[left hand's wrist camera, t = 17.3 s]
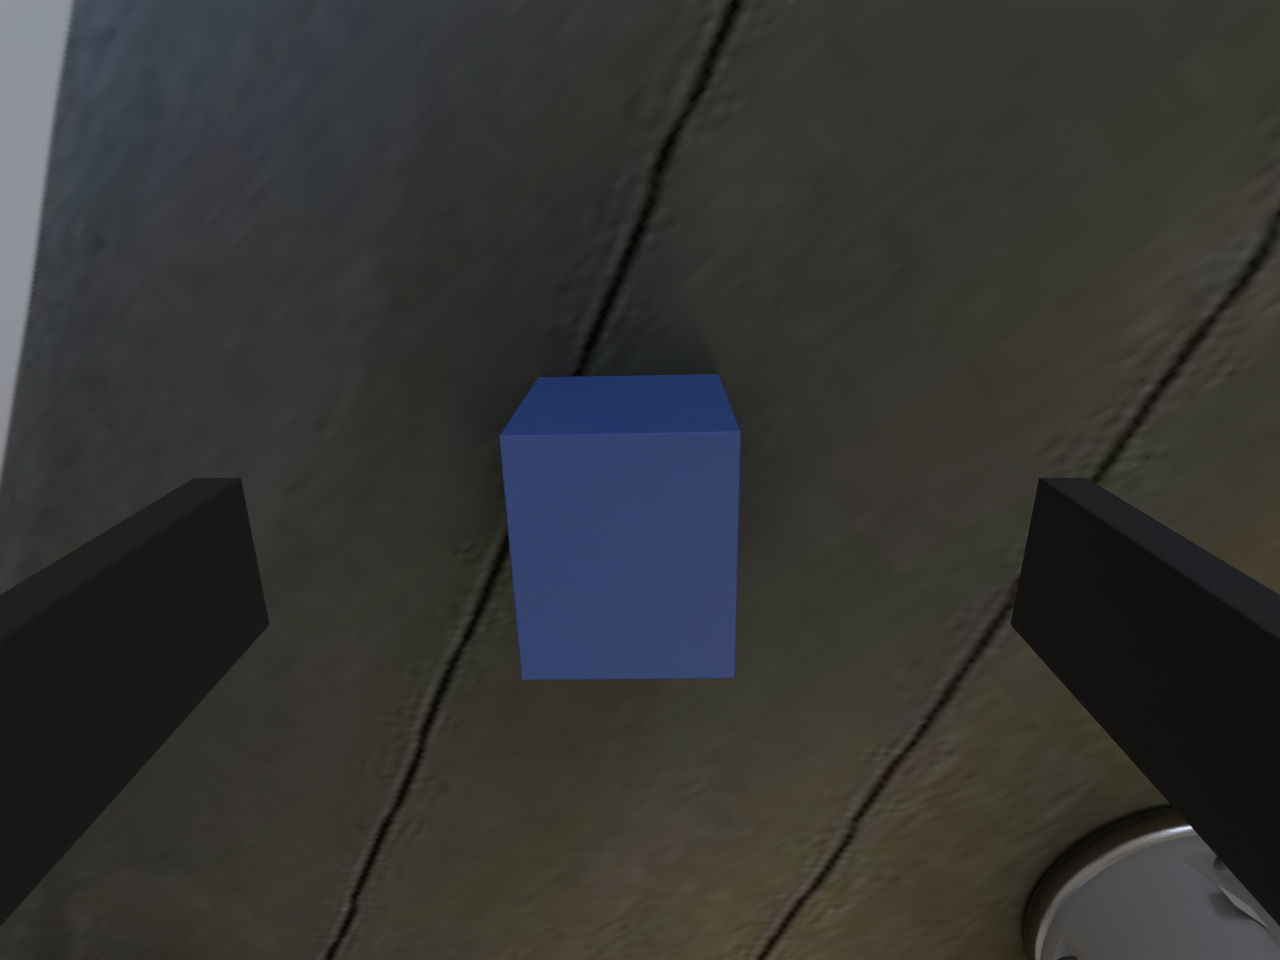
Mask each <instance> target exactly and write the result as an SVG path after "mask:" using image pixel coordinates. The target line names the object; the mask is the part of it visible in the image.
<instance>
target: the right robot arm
mask: <svg viewBox="0 0 1280 960" xmlns="http://www.w3.org/2000/svg"><path fill="white" fill-rule="evenodd" d="M1023 938H1024V945H1025V950H1026V953H1027V956H1028V959H1029V960H1280V926H1279V925H1278V924H1277V923H1276V922H1275V920H1274V919H1273V918H1272V917H1271V916H1270V915H1269V914H1268V913H1267V911H1266V910H1265V909H1264V908H1263V907H1262V906H1261V905H1260V904H1259V902H1258V901H1257V900H1256V899H1255V898H1254V897H1253V896H1252V895H1251V894H1250V892H1249V891H1248V890H1247V889H1246V888H1245V887H1244V886H1243V885H1242V883H1241V882H1240V881H1239V880H1238V879H1237V878H1236V877H1235V876H1234V874H1233V873H1232V872H1231V871H1230V870H1229V869H1228V868H1227V867H1226V865H1225V864H1224V863H1223V862H1222V861H1221V860H1220V859H1219V858H1218V856H1217V855H1216V854H1215V853H1214V852H1213V851H1212V850H1211V849H1210V848H1209V846H1208V845H1207V844H1206V843H1205V842H1204V841H1203V840H1202V839H1201V837H1200V836H1199V835H1198V834H1197V833H1196V832H1195V831H1194V830H1193V828H1192V827H1191V826H1190V825H1189V824H1188V823H1187V822H1186V821H1185V819H1184V818H1183V817H1182V816H1181V815H1180V814H1179V813H1178V812H1177V811H1176V809H1175V808H1174V807H1168V808H1163V809H1158V810H1154V811H1149V812H1146V813H1143V814H1139V815H1136V816H1133V817H1130V818H1128V819H1125V820H1122V821H1120V822H1118V823H1115V824H1113V825H1111V826H1109V827H1107V828H1105V829H1103V830H1101V831H1099V832H1097V833H1095V834H1094V835H1092V836H1090V837H1089V838H1087V839H1086V840H1084V841H1083V842H1081V843H1080V844H1078V845H1077V846H1076V847H1074V848H1073V849H1072V850H1070V851H1069V852H1068V853H1067V854H1066V855H1064V856H1063V857H1062V858H1061V859H1060V860H1059V861H1058V862H1057V863H1056V864H1055V865H1054V866H1053V867H1052V868H1051V869H1050V870H1049V872H1048V873H1047V874H1046V875H1045V877H1044V878H1043V879H1042V881H1041V882H1040V884H1039V885H1038V887H1037V888H1036V890H1035V892H1034V894H1033V896H1032V898H1031V900H1030V902H1029V905H1028V908H1027V911H1026V915H1025V919H1024V928H1023Z"/></svg>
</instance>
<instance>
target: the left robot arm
mask: <svg viewBox="0 0 1280 960" xmlns="http://www.w3.org/2000/svg"><path fill="white" fill-rule="evenodd" d="M268 626H269V620H268V615H267V610H266V605H265V600H264V595H263V590H262V585H261V579H260V574H259V569H258V564H257V559H256V554H255V549H254V544H253V539H252V533H251V528H250V523H249V518H248V513H247V508H246V503H245V498H244V493H243V487H242V482H241V478H193V479H192V480H190V481H188V482H187V483H185V484H184V485H182V486H180V487H179V488H177V489H175V490H174V491H172V492H170V493H169V494H167V495H165V496H164V497H162V498H160V499H159V500H157V501H155V502H154V503H152V504H150V505H149V506H147V507H145V508H144V509H142V510H140V511H139V512H137V513H135V514H134V515H132V516H131V517H129V518H127V519H126V520H124V521H122V522H121V523H119V524H117V525H116V526H114V527H112V528H111V529H109V530H107V531H106V532H104V533H102V534H101V535H99V536H97V537H96V538H94V539H92V540H91V541H89V542H87V543H86V544H84V545H82V546H81V547H79V548H78V549H76V550H74V551H73V552H71V553H69V554H68V555H66V556H64V557H63V558H61V559H59V560H58V561H56V562H54V563H53V564H51V565H49V566H48V567H46V568H44V569H43V570H41V571H39V572H38V573H36V574H34V575H33V576H31V577H29V578H28V579H26V580H24V581H23V582H21V583H20V584H18V585H16V586H15V587H13V588H11V589H10V590H8V591H6V592H5V593H3V594H1V595H0V926H1V925H2V924H3V923H4V922H5V920H6V919H7V918H8V917H9V916H10V915H11V914H12V913H13V911H14V910H15V909H16V908H17V907H18V906H19V905H20V904H21V902H22V901H23V900H24V899H25V898H26V897H27V896H28V895H29V893H30V892H31V891H32V890H33V889H34V888H35V887H36V886H37V885H38V883H39V882H40V881H41V880H42V879H43V878H44V877H45V876H46V874H47V873H48V872H49V871H50V870H51V869H52V868H53V867H54V865H55V864H56V863H57V862H58V861H59V860H60V859H61V858H62V856H63V855H64V854H65V853H66V852H67V851H68V850H69V849H70V848H71V846H72V845H73V844H74V843H75V842H76V841H77V840H78V839H79V837H80V836H81V835H82V834H83V833H84V832H85V831H86V830H87V828H88V827H89V826H90V825H91V824H92V823H93V822H94V821H95V819H96V818H97V817H98V816H99V815H100V814H101V813H102V812H103V811H104V809H105V808H106V807H107V806H108V805H109V804H110V803H111V802H112V800H113V799H114V798H115V797H116V796H117V795H118V794H119V793H120V791H121V790H122V789H123V788H124V787H125V786H126V785H127V784H128V782H129V781H130V780H131V779H132V778H133V777H134V776H135V775H136V774H137V772H138V771H139V770H140V769H141V768H142V767H143V766H144V765H145V763H146V762H147V761H148V760H149V759H150V758H151V757H152V756H153V754H154V753H155V752H156V751H157V750H158V749H159V748H160V747H161V745H162V744H163V743H164V742H165V741H166V740H167V739H168V738H169V737H170V735H171V734H172V733H173V732H174V731H175V730H176V729H177V728H178V726H179V725H180V724H181V723H182V722H183V721H184V720H185V719H186V717H187V716H188V715H189V714H190V713H191V712H192V711H193V710H194V708H195V707H196V706H197V705H198V704H199V703H200V702H201V701H202V700H203V698H204V697H205V696H206V695H207V694H208V693H209V692H210V691H211V689H212V688H213V687H214V686H215V685H216V684H217V683H218V682H219V680H220V679H221V678H222V677H223V676H224V675H225V674H226V673H227V671H228V670H229V669H230V668H231V667H232V666H233V665H234V664H235V663H236V661H237V660H238V659H239V658H240V657H241V656H242V655H243V654H244V652H245V651H246V650H247V649H248V648H249V647H250V646H251V645H252V643H253V642H254V641H255V640H256V639H257V638H258V637H259V636H260V634H261V633H262V632H263V631H264V630H265V629H266V628H267V627H268ZM1011 626H1012V627H1013V628H1014V629H1015V630H1016V631H1017V632H1018V633H1019V634H1020V636H1021V637H1022V638H1023V639H1024V640H1025V641H1026V642H1027V643H1028V645H1029V646H1030V647H1031V648H1032V649H1033V650H1034V651H1035V652H1036V654H1037V655H1038V656H1039V657H1040V658H1041V659H1042V660H1043V661H1044V663H1045V664H1046V665H1047V666H1048V667H1049V668H1050V669H1051V670H1052V671H1053V673H1054V674H1055V675H1056V676H1057V677H1058V678H1059V679H1060V680H1061V682H1062V683H1063V684H1064V685H1065V686H1066V687H1067V688H1068V689H1069V691H1070V692H1071V693H1072V694H1073V695H1074V696H1075V697H1076V698H1077V700H1078V701H1079V702H1080V703H1081V704H1082V705H1083V706H1084V707H1085V708H1086V710H1087V711H1088V712H1089V713H1090V714H1091V715H1092V716H1093V717H1094V719H1095V720H1096V721H1097V722H1098V723H1099V724H1100V725H1101V726H1102V728H1103V729H1104V730H1105V731H1106V732H1107V733H1108V734H1109V735H1110V737H1111V738H1112V739H1113V740H1114V741H1115V742H1116V743H1117V744H1118V745H1119V747H1120V748H1121V749H1122V750H1123V751H1124V752H1125V753H1126V754H1127V756H1128V757H1129V758H1130V759H1131V760H1132V761H1133V762H1134V763H1135V765H1136V766H1137V767H1138V768H1139V769H1140V770H1141V771H1142V772H1143V774H1144V775H1145V776H1146V777H1147V778H1148V779H1149V780H1150V781H1151V782H1152V784H1153V785H1154V786H1155V787H1156V788H1157V789H1158V790H1159V791H1160V793H1161V794H1162V795H1163V796H1164V797H1165V798H1166V799H1167V800H1168V802H1169V803H1170V804H1171V805H1172V806H1173V807H1174V808H1175V809H1176V811H1177V812H1178V813H1179V814H1180V815H1181V816H1182V817H1183V818H1184V819H1185V821H1186V822H1187V823H1188V824H1189V825H1190V826H1191V827H1192V828H1193V830H1194V831H1195V832H1196V833H1197V834H1198V835H1199V836H1200V837H1201V839H1202V840H1203V841H1204V842H1205V843H1206V844H1207V845H1208V846H1209V848H1210V849H1211V850H1212V851H1213V852H1214V853H1215V854H1216V855H1217V856H1218V858H1219V859H1220V860H1221V861H1222V862H1223V863H1224V864H1225V865H1226V867H1227V868H1228V869H1229V870H1230V871H1231V872H1232V873H1233V874H1234V876H1235V877H1236V878H1237V879H1238V880H1239V881H1240V882H1241V883H1242V885H1243V886H1244V887H1245V888H1246V889H1247V890H1248V891H1249V892H1250V894H1251V895H1252V896H1253V897H1254V898H1255V899H1256V900H1257V901H1258V902H1259V904H1260V905H1261V906H1262V907H1263V908H1264V909H1265V910H1266V911H1267V913H1268V914H1269V915H1270V916H1271V917H1272V918H1273V919H1274V920H1275V922H1276V923H1277V924H1278V925H1279V926H1280V595H1279V594H1277V593H1275V592H1274V591H1272V590H1270V589H1269V588H1267V587H1265V586H1264V585H1262V584H1260V583H1259V582H1257V581H1256V580H1254V579H1252V578H1251V577H1249V576H1247V575H1246V574H1244V573H1242V572H1241V571H1239V570H1237V569H1236V568H1234V567H1232V566H1231V565H1229V564H1227V563H1226V562H1224V561H1222V560H1221V559H1219V558H1217V557H1216V556H1214V555H1212V554H1211V553H1209V552H1207V551H1206V550H1204V549H1202V548H1201V547H1199V546H1198V545H1196V544H1194V543H1193V542H1191V541H1189V540H1188V539H1186V538H1184V537H1183V536H1181V535H1179V534H1178V533H1176V532H1174V531H1173V530H1171V529H1169V528H1168V527H1166V526H1164V525H1163V524H1161V523H1159V522H1158V521H1156V520H1154V519H1153V518H1151V517H1149V516H1148V515H1146V514H1145V513H1143V512H1141V511H1140V510H1138V509H1136V508H1135V507H1133V506H1131V505H1130V504H1128V503H1126V502H1125V501H1123V500H1121V499H1120V498H1118V497H1116V496H1115V495H1113V494H1111V493H1110V492H1108V491H1106V490H1105V489H1103V488H1101V487H1100V486H1098V485H1096V484H1095V483H1093V482H1092V481H1090V480H1088V479H1087V478H1039V482H1038V487H1037V493H1036V498H1035V503H1034V508H1033V513H1032V518H1031V523H1030V528H1029V533H1028V539H1027V544H1026V549H1025V554H1024V559H1023V564H1022V569H1021V574H1020V579H1019V584H1018V590H1017V595H1016V600H1015V605H1014V610H1013V615H1012V620H1011Z"/></svg>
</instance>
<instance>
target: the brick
mask: <svg viewBox="0 0 1280 960" xmlns="http://www.w3.org/2000/svg"><path fill="white" fill-rule="evenodd" d="M499 440H500V451H501V462H502V473H503V483H504V494H505V505H506V515H507V526H508V537H509V548H510V558H511V569H512V580H513V590H514V601H515V612H516V622H517V633H518V644H519V655H520V665H521V676H522V680H559V679H664V678H734V677H735V648H736V607H737V567H738V527H739V487H740V447H741V432H740V429H739V427H738V424H737V421H736V419H735V416H734V414H733V411H732V408H731V406H730V403H729V400H728V398H727V395H726V392H725V390H724V387H723V385H722V382H721V379H720V377H719V374H682V375H630V376H579V377H539V378H538V379H537V380H536V382H535V383H534V385H533V386H532V388H531V389H530V391H529V392H528V394H527V395H526V397H525V398H524V400H523V401H522V403H521V404H520V406H519V407H518V409H517V410H516V412H515V413H514V415H513V416H512V418H511V419H510V421H509V422H508V424H507V425H506V427H505V428H504V430H503V431H502V433H501V434H500V436H499Z"/></svg>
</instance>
